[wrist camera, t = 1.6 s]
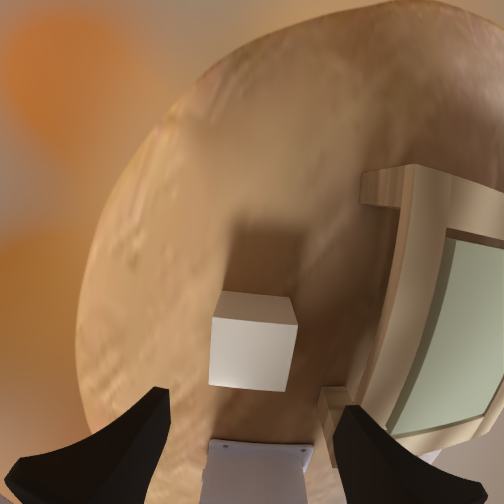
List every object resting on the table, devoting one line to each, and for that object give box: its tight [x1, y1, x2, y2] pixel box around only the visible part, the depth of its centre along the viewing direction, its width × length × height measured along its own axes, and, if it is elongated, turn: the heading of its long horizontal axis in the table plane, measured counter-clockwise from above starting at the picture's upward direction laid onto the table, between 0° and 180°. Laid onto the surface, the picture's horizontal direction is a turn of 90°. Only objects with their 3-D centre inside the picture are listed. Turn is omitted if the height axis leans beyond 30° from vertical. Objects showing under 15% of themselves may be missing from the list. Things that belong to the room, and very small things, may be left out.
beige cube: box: [209, 290, 298, 392], centre depth 17 cm, size 4×4×4 cm
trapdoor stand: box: [317, 164, 504, 468], centre depth 16 cm, size 15×18×7 cm
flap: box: [385, 237, 504, 435], centre depth 14 cm, size 10×12×3 cm
